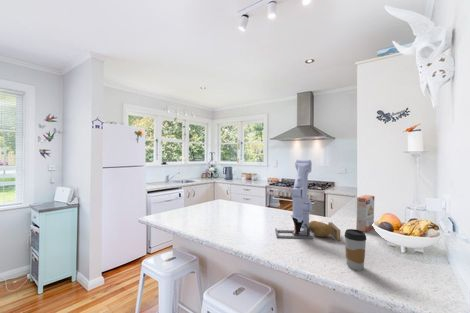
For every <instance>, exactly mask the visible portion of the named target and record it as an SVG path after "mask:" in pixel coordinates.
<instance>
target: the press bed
mask: <svg viewBox="0 0 470 313" xmlns="http://www.w3.org/2000/svg"><path fill="white" fill-rule="evenodd" d="M328 225H330V226H331V227H332V228H333V233H332V234H330V235H331V237H332V238H334V240H335V241H336V242H341V229H340V228H338V227H337V226H336V225H335V224H334V223H333V222H332V221H331V222H328ZM274 230H275V236H276V238H277V239H278V238H279V239H302V240H303V239H306V240H308V239H309V240H313V239H314V238H313V236H311V235H310V236H293V235H280V234H279V233H287V232H288V233H290V234H291V233H292V229H291V230H289V229H287V230H286V229H277V228H276V227H275V228H274Z"/></svg>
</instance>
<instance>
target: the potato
mask: <svg viewBox="0 0 470 313" xmlns="http://www.w3.org/2000/svg"><path fill="white" fill-rule="evenodd" d="M309 228H310V233H313V235H315V236H317V237H321V238H322V237H329V236H330V235H331V234H332V233H333V228H332V227H331V226H330V225H328V224H327V223H324V222H321V221H317V220H311V221H309Z"/></svg>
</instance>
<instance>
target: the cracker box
mask: <svg viewBox="0 0 470 313" xmlns="http://www.w3.org/2000/svg"><path fill="white" fill-rule="evenodd" d="M374 218H375V196H374V195H370V194H365V195H360V196H357V197H356V230H360V231H363V232H364V233H366V232H369V231H370V230H372V229H373V226H372V224H373V223H374V224H375V220H374Z"/></svg>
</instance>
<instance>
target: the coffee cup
mask: <svg viewBox="0 0 470 313" xmlns="http://www.w3.org/2000/svg"><path fill="white" fill-rule="evenodd" d="M343 236H344V243H345V247H344V248H345V249H344V250H345V259H346V265H347V267H348V268H349V269H351V270H353V271H362V270H363V269H364V266H365V256H366V242H367V235H366V232H363V231H360V230H356V229H355V228H349V229H348V228H347V229H346V230H345V232H344V235H343Z"/></svg>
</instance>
